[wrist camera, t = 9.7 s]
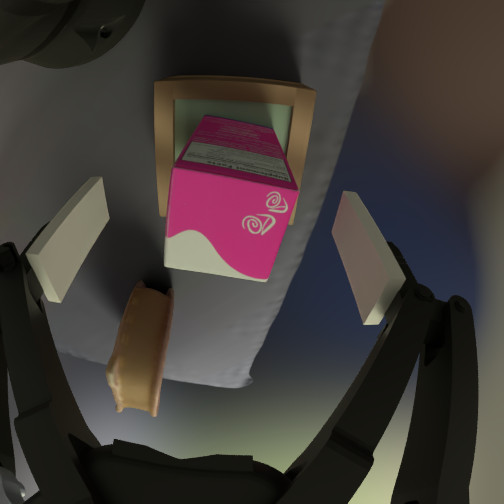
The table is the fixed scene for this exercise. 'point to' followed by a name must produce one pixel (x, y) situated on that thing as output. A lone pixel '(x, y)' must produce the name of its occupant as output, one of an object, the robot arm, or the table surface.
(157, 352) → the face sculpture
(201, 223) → the supplement box
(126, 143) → the table surface
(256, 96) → the frame
